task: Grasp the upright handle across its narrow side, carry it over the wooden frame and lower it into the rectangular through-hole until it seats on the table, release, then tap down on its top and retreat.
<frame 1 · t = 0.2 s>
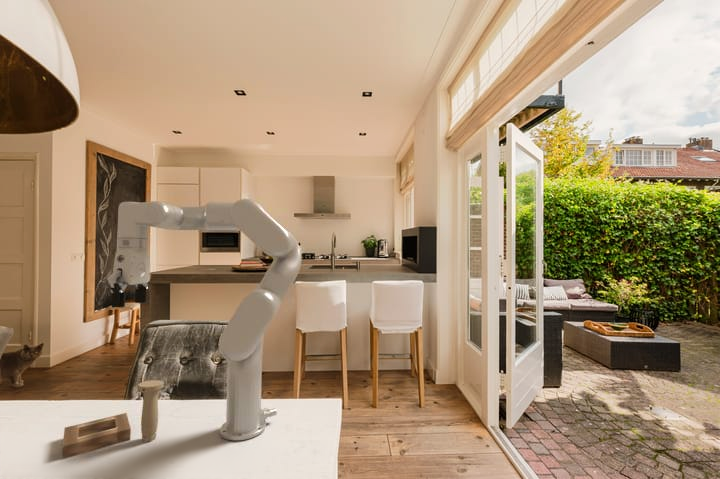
hand: (130, 304, 97), 36 cm above the table, tool pointing down, fingers open, 9 cm apart
wooden frame: (97, 439, 92), on the table
handle: (149, 440, 92), on the table
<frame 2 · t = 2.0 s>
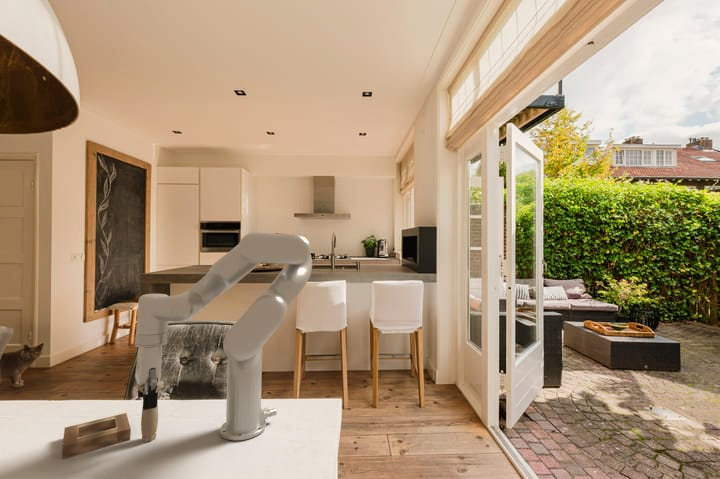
hand: (147, 402, 93), 10 cm above the table, tool pointing down, fingers open, 9 cm apart
nothing on the table moved.
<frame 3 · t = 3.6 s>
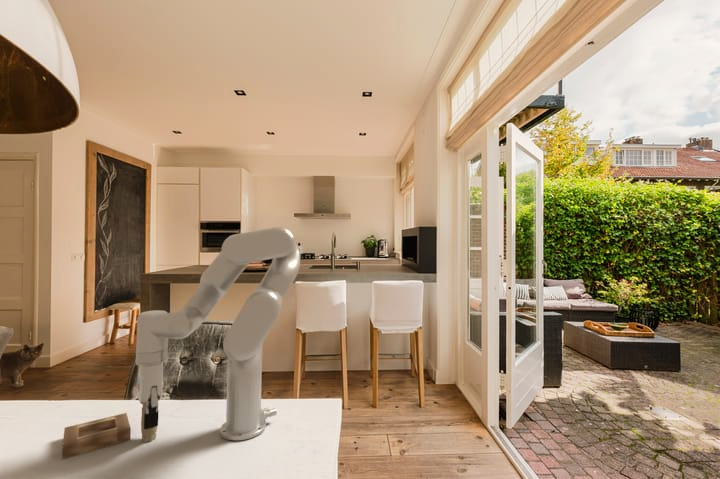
hand: (149, 423, 92), 4 cm above the table, tool pointing down, fingers closed on handle, 4 cm apart
handle: (149, 440, 92), on the table, touching gripper
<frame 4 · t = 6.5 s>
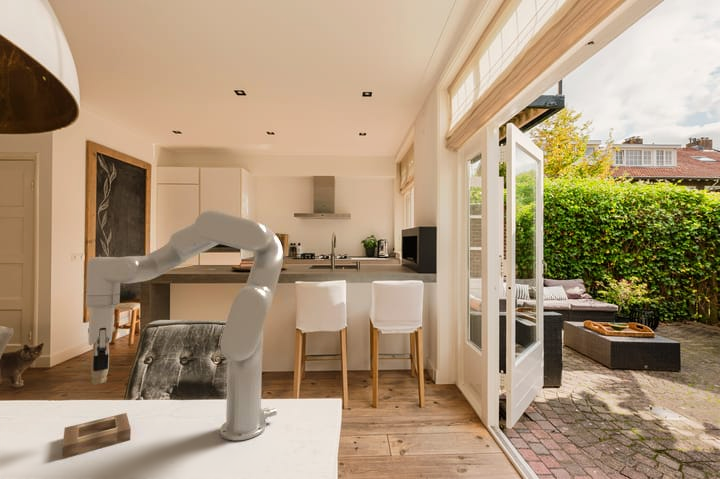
hand: (100, 367, 93), 19 cm above the table, tool pointing down, fingers closed on handle, 4 cm apart
handle: (99, 383, 93), point 15 cm above the table, touching gripper
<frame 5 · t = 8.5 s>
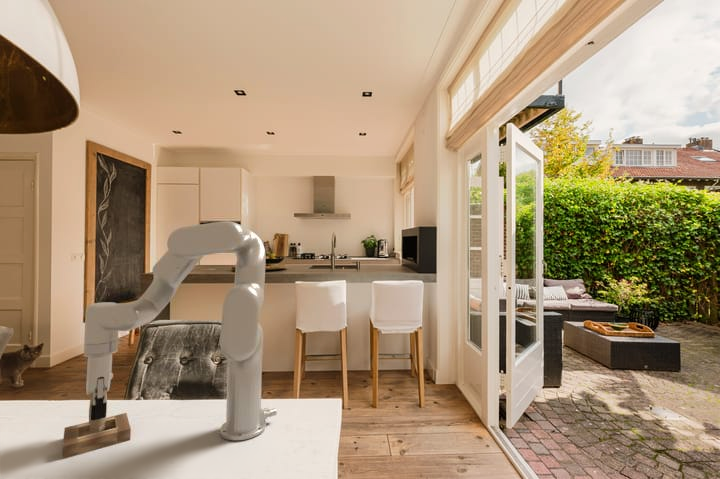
hand: (98, 414, 92), 7 cm above the table, tool pointing down, fingers closed on handle, 4 cm apart
handle: (97, 431, 92), point 2 cm above the table, touching gripper
when the fingers open (5 cm above the table, at t = 9.6 s): handle stays where it is, resting in wooden frame.
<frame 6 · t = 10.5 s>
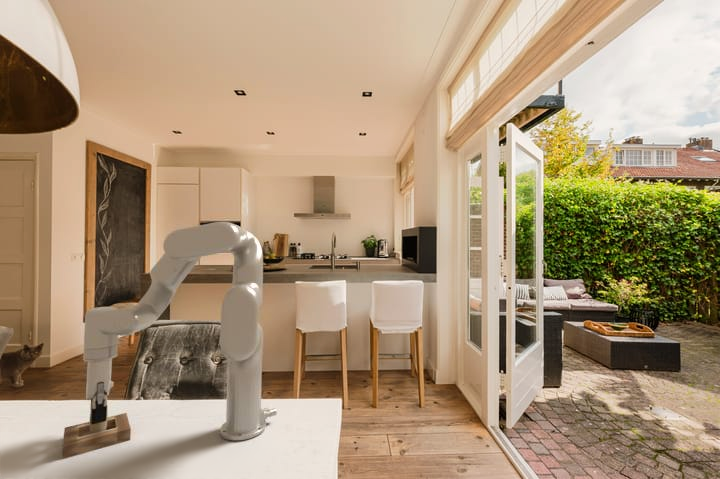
hand: (98, 415, 92), 6 cm above the table, tool pointing down, fingers open, 9 cm apart
handle: (97, 440, 92), resting in wooden frame
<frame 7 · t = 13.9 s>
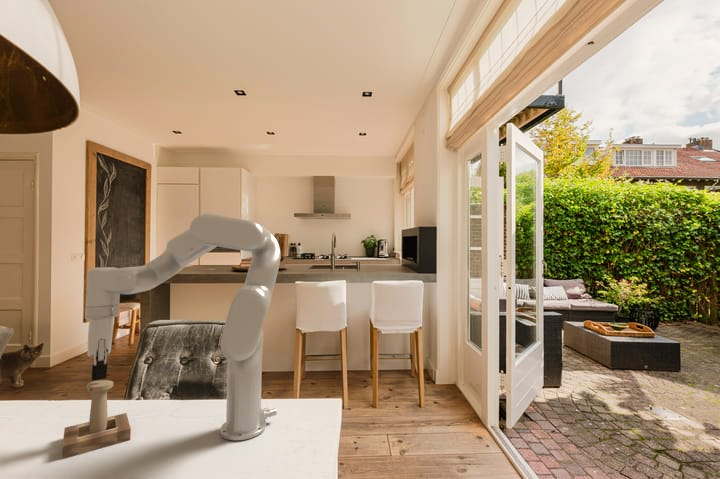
hand: (99, 378, 93), 16 cm above the table, tool pointing down, fingers closed
nothing on the table moved.
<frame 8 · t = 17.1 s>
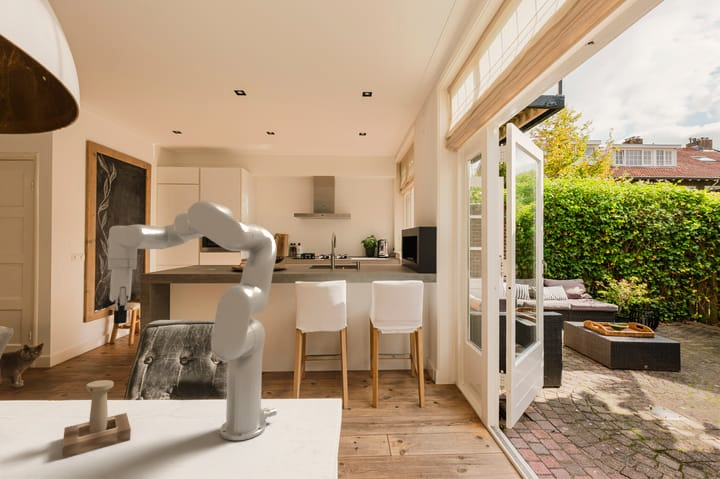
hand: (120, 322, 106), 29 cm above the table, tool pointing down, fingers closed
nothing on the table moved.
at the end: handle 0.1 cm off-centre on the wooden frame, point 0.0 cm above the wooden frame's base; handle tilted 0°; the gripper is holding nothing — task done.
